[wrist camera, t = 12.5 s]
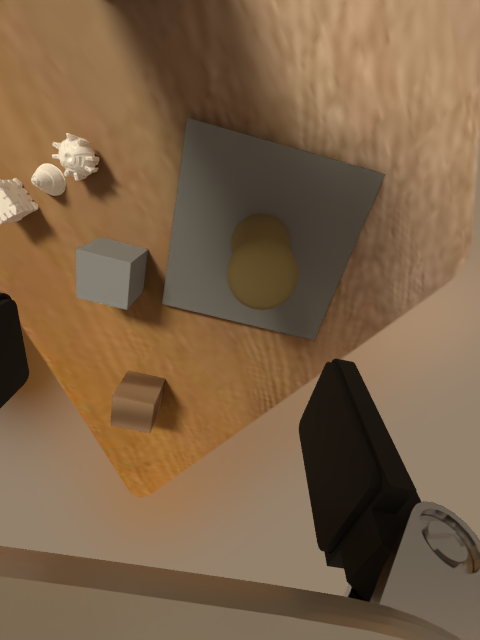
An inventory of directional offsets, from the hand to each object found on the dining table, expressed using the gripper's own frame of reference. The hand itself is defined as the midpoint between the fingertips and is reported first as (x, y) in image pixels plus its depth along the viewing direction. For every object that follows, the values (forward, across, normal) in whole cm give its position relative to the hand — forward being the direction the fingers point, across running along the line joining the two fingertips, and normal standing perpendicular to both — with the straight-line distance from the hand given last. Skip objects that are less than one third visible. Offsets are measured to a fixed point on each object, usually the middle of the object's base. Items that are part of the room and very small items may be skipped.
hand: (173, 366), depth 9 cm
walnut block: (+23, +7, +24) cm, 34 cm away
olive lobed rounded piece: (+23, -4, +2) cm, 23 cm away
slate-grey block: (+24, +10, +7) cm, 27 cm away
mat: (+24, -4, +2) cm, 24 cm away
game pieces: (+24, +18, 0) cm, 30 cm away
